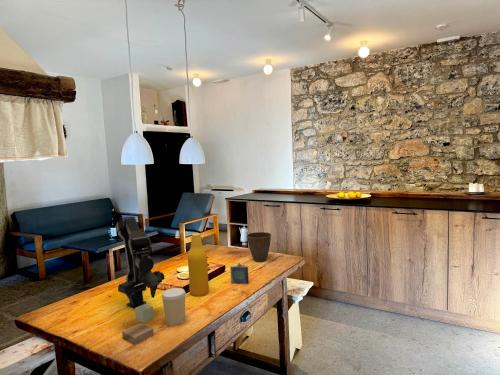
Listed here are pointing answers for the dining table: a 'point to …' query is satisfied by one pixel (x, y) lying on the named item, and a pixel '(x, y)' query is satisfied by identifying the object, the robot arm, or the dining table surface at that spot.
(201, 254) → the beer bottle
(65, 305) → the dining table surface
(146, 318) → the cube
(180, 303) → the coffee cup
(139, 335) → the base
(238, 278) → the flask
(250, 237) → the plant pot
